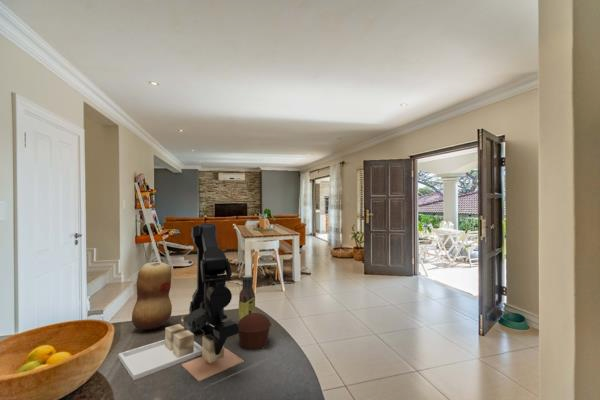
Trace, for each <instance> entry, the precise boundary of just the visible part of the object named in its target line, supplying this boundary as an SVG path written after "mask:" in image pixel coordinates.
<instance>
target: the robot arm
mask: <svg viewBox="0 0 600 400" xmlns="http://www.w3.org/2000/svg"><path fill="white" fill-rule="evenodd" d="M217 235H218V232H217V225H215V223H201V224H199V225H194V226H192V228H191V233H190V236H191V239H192V243H193V244H194V245H195V246H194V247H196V249H197V250H196V251H197V255H196V256H197V258H196V261H197V262H196V289H195V291H194V292H193V294H192V297H191V298H192V299H191V301H190V302H189V308H188V310H189V312H188V314H186V315H185V316H184V317H183V318H182V320H183V323H184V326H185V328H186V330H188V331H190V332H191V333H193V334H194V336H201V335H203V336H205V335H208V334H209V335H211V336H212V337H213V338H214V348H215V354H216V355H218V354H220V352H221V349H222V347H223V345H224V346H225V343H226V341H227V339H228V338H230V337H232V336H236V335H239V325H238V322H237V323H236V322H235V321H234V320H231V319H229V320H226V319H228V315H227V314H225V308H226V307H227V306H228V305H229V304H230V303H231V301H232V299H233V294H232V291H231V290H230V289H229V288H228V287H227V284H226V281H231V279H232V278H231V277H232V275H233V273H232V268H231V263H230V261H229V259H228V258H227V256H226V253H225V251H224V250H222V249H221V248H220V247H219V243H218V240H217ZM223 320H225V321H223Z"/></svg>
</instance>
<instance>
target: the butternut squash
mask: <svg viewBox="0 0 600 400" xmlns="http://www.w3.org/2000/svg"><path fill="white" fill-rule="evenodd" d="M171 268H172V267H170V265H169V264H167V263H164V262H160V261H153V262H148V263H145V264H143V265H142V266H141V267H140V269H139V271H138V273H137V279H136V301H135V303H134V306H133V309H132V312H131V322H132V325H134V327H135V328H136V329H138V330H140V331H149V330H150V331H151V330H152V331H153V330H154V331H155V330H157V329H159V328H160V327H162V326H163V325H164V324H165V323H167V321H168V320H169V319H170V318H171V317H172V312H173V311H172V310H173V308H172V307H173V305H172V301H171V298H170V296H169V295H170V290H171V287H172V269H171Z"/></svg>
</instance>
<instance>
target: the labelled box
mask: <svg viewBox="0 0 600 400" xmlns="http://www.w3.org/2000/svg"><path fill="white" fill-rule="evenodd" d="M201 345H202V346H201V347H202V355H201V357H203V358H204V359H205V360H206V361H208V362H209V363H211V362H213V361H216V360H218V359H221V358H223V357H224V348H225V344H224V345H223V347H222V349H221V352H220V354H218V355H216V354H215V348H214V338H213V337H212V336H211V335H209V334H208V335H205V336H204V335H203V336H202V344H201Z"/></svg>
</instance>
